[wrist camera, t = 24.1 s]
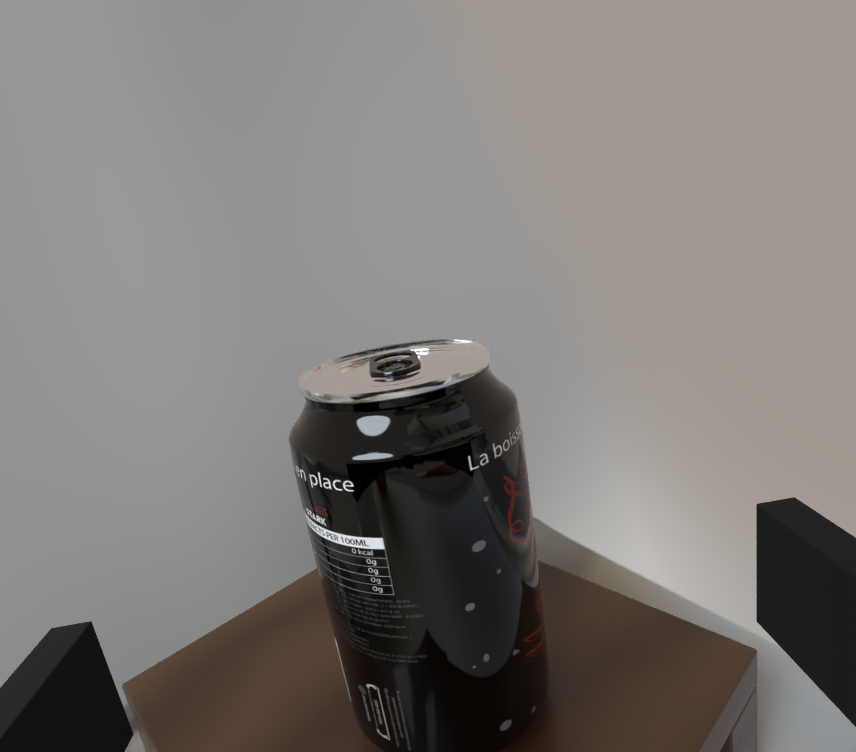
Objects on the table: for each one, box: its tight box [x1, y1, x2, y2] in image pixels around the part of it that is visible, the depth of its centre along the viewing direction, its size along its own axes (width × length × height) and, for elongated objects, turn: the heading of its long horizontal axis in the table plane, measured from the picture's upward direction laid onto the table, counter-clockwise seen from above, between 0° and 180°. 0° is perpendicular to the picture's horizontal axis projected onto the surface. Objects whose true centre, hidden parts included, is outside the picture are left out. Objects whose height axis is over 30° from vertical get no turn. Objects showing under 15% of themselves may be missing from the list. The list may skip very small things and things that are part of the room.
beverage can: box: [289, 339, 549, 752], centre depth 18 cm, size 7×7×12 cm
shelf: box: [122, 560, 757, 752], centre depth 21 cm, size 18×16×6 cm
